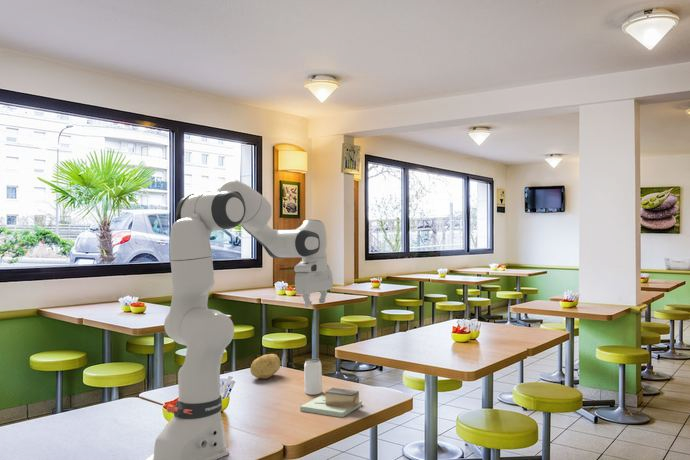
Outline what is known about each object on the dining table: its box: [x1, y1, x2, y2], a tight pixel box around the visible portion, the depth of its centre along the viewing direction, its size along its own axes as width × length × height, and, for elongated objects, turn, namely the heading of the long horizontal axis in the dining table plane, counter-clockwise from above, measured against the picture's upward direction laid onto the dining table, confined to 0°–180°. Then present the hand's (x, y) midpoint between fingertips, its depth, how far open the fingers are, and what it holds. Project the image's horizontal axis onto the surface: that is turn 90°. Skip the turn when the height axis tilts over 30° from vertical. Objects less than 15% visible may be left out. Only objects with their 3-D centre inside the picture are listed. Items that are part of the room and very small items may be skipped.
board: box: [299, 394, 363, 418], centre depth 187 cm, size 14×16×2 cm
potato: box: [249, 353, 281, 379], centre depth 229 cm, size 10×14×10 cm
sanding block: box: [324, 387, 360, 409], centre depth 185 cm, size 5×10×4 cm, turn 62°
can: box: [303, 358, 323, 396], centre depth 206 cm, size 6×6×12 cm
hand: (315, 304), depth 196 cm, fingers open, 8 cm apart
